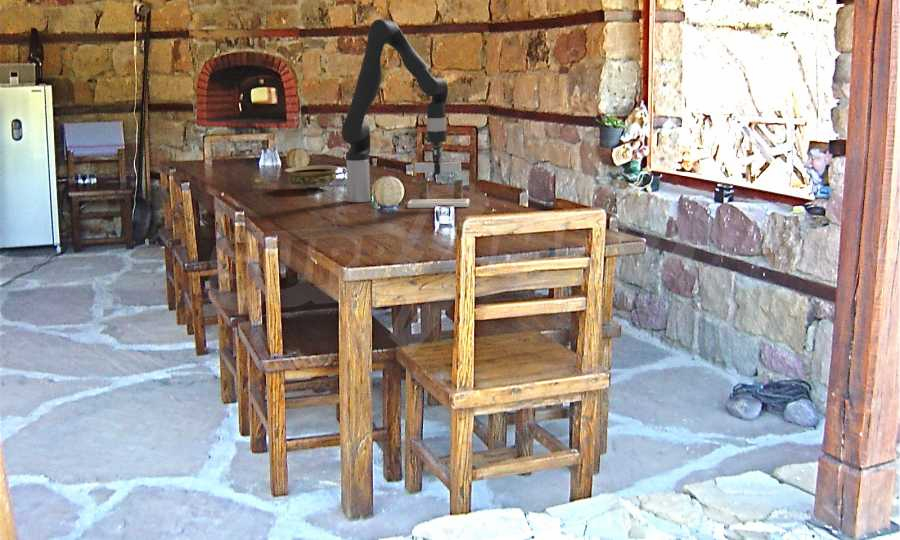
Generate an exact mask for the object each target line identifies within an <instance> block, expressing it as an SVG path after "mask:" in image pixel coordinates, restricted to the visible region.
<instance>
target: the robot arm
mask: <svg viewBox="0 0 900 540" xmlns="http://www.w3.org/2000/svg"><path fill="white" fill-rule="evenodd" d="M386 44H387V45H389V47H390V46H391V47H392V48H393V49H394V50H395V51H396V52H397V54H398V55H399V56H400V58H401V62H402V64H403V65H404V67H405V69H406V70H407V71H408V72H409V73H410V74H411V75H412V77H413V78H415V80H416V82H417V84H418V86H419V87H420V90H421V91H422V92H423V93H424V94H425V95H426V96H428V97H431V101H430V102H429V103H427V105H426V117H427V118H426V138H427V139H426V140H427V143H433V144H432V147H431V153H432V154H431V157H432V163H433V164H434V172H433V173H434V175H440V174H441V173H442V172H440V162H443V150H444V149H443V146H442V143H445V142H447V121H446V104H447V98H448V93H449V87H448V82H447V80H446V79H445V78H443V77H441V76H440V77H439V76H436V77H434V76H432V75H431V72H432V69H431V67H430V66H429V64H427V62H425V60H424V59H423V58H422V57H421V56H420V55H419V54H418V53H417V51H416V50H415V49H414V48H413V46H412V45H411V44H410V42H409V41H408V40H407V38H406V36H405V35H404V33H403V31H402V30H401V28H400V27H399V25H398V24H397V23H396V22H395V21H393V20H390V19H384V18H383V19H382V18H381V19H380V18H379V19H378V18H377V19H376V20H374V21H373V22H372V23H371V25H370V27H369V30H368V36H367V42H366V46H365V47H366V48H365V53H364V56H363V59H362V63H361V67H360V70H359V74H358V77H357V81H356V83H355V84H356V85H355V87H354V92H353V95H352V97H351V98H352V99H351V103H350V107H349V110H348V112H347V114H346V117H345V120H344V122H343V124H342V126H341V137H342V139H343V140H344V142H346V143H347V144H350V145H349V146H350V147H349V148H348V149H349V150H348V151H347V152H346V153H345V154H346V155H345V158H346V179H345V185H346V202H349V203H365V202H370V201H371V181H370V160H369V159H370V156H369V155H370V152H371V130H370V126H369V124H368V123H367V121H365V120H364V119H365V118H366V114H367V111H369V110H368V109H370V107H371V105H372V103H373V102H374V101H375V99H376V98H377V95H378V93H379V91H380V87H381V84H382V80H383V70H382V64H381V63H382V62H381V60H382V58H381V57H382V54H383V50H384V46H385V45H386Z"/></svg>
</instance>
